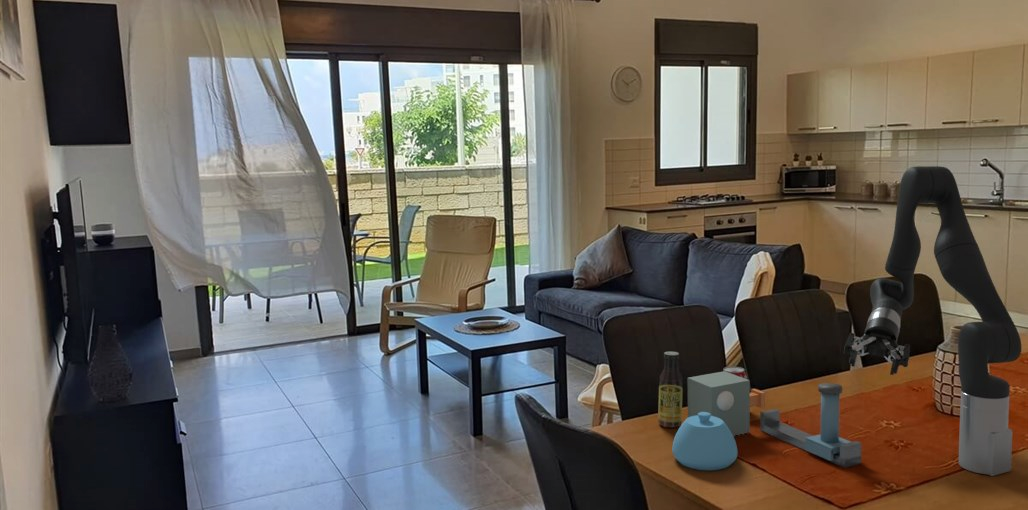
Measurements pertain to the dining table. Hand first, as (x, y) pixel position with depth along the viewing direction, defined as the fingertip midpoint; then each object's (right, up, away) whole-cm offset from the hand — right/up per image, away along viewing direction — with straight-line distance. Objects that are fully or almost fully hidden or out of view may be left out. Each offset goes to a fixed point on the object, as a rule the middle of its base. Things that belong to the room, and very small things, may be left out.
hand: (872, 367), depth 184 cm
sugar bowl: (-39, -22, +1) cm, 45 cm away
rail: (-13, -20, +7) cm, 25 cm away
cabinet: (-31, -19, +20) cm, 42 cm away
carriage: (-10, -21, +1) cm, 23 cm away
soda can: (-23, -17, +35) cm, 45 cm away
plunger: (-24, -13, +19) cm, 33 cm away
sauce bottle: (-42, -19, +26) cm, 53 cm away
